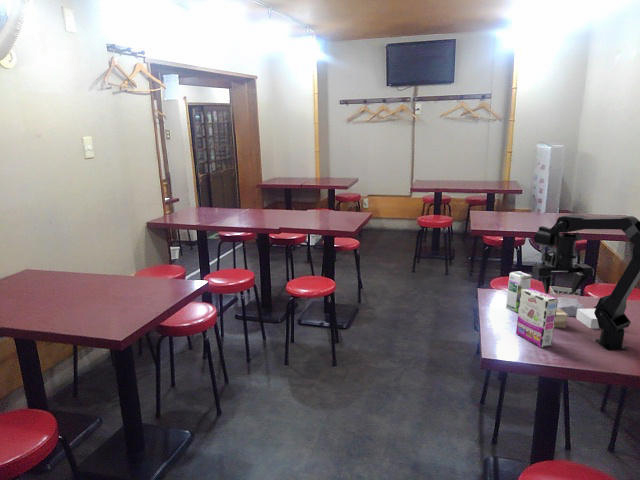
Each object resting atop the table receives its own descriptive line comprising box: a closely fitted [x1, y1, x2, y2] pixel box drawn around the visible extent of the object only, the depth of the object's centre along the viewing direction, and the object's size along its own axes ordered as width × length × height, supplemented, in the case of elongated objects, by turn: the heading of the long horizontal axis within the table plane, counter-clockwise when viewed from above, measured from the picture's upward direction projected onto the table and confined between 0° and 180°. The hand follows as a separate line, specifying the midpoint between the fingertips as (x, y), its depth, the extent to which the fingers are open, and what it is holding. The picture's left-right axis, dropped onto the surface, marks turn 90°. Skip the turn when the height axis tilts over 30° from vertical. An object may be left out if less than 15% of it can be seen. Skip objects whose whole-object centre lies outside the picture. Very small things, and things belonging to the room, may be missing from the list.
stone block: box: [556, 296, 585, 317], centre depth 173 cm, size 12×5×10 cm
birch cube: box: [554, 309, 568, 328], centre depth 161 cm, size 5×5×5 cm
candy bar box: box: [515, 287, 558, 349], centre depth 148 cm, size 11×5×16 cm, turn 21°
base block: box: [575, 308, 600, 330], centre depth 162 cm, size 9×9×4 cm
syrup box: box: [505, 271, 532, 313], centre depth 173 cm, size 6×6×14 cm
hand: (559, 293), depth 159 cm, fingers open, 9 cm apart
